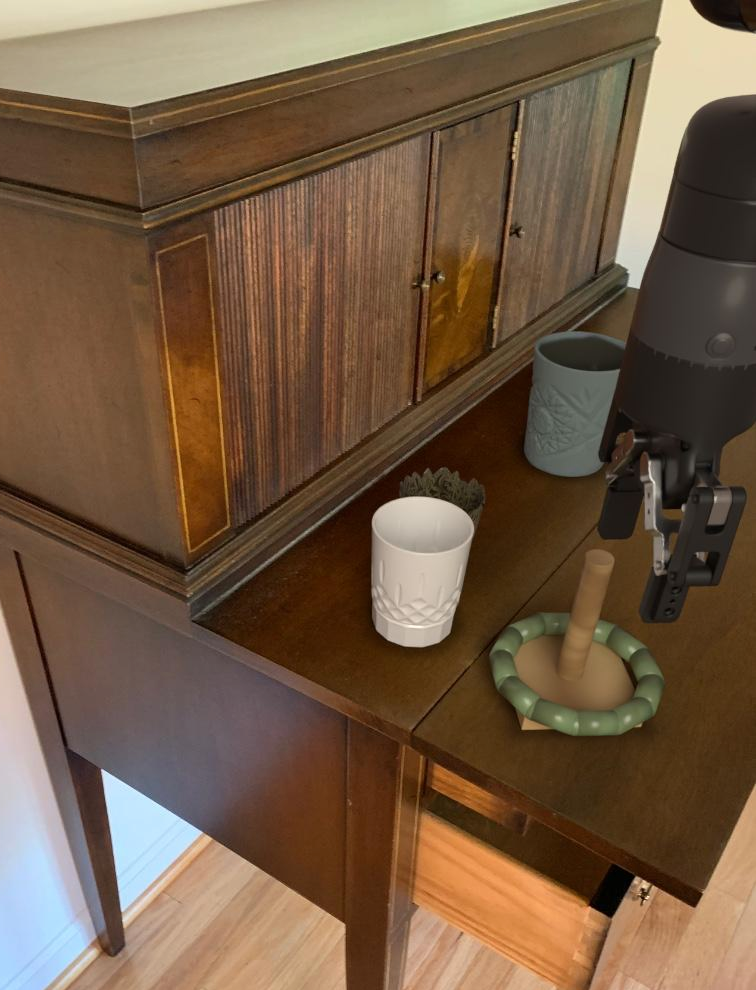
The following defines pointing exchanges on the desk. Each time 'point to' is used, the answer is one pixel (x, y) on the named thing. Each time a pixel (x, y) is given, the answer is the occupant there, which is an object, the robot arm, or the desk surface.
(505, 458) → the desk surface
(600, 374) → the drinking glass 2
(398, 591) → the white cup
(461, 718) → the desk surface
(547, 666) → the post
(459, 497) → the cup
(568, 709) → the ring
